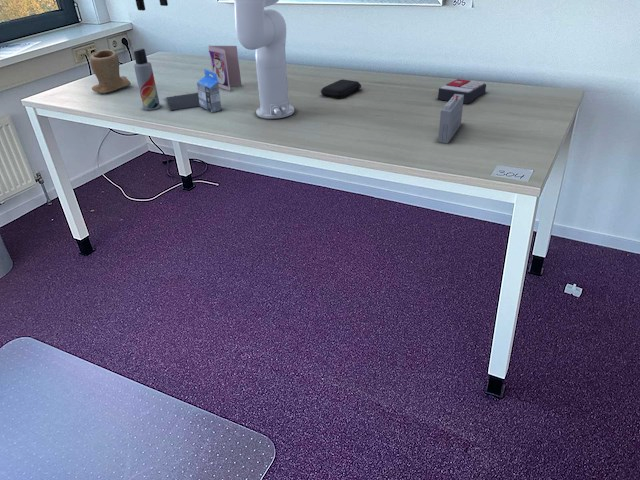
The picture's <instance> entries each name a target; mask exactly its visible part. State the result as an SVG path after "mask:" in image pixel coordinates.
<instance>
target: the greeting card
mask: <svg viewBox="0 0 640 480" xmlns="http://www.w3.org/2000/svg"><path fill="white" fill-rule="evenodd" d="M207 48H208V54H209V60H210V67H211V72H213V73H215V74H216V75H217V79H218V85H219V89H222V90H223V89H224V90H226V91H229V92H231V87H242V86H243V85H242V78H241V69H240V62H239V61H240V60H239V55H238V53H239V52H238V46H237V45H207Z"/></svg>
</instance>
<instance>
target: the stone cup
mask: <svg viewBox="0 0 640 480" xmlns="http://www.w3.org/2000/svg"><path fill="white" fill-rule="evenodd" d="M89 63H90V67H91V70H92V73H93V74H94V75H95V77H96V79H97V81H98V83H97V84H95V85H93V86H92V87H91V90H92V91H93V92H95V93H99V94H106V93H110V92H114V91H117V90H120V89H123V88H125V87H128V86H131V81H130V80H129V79H128V77H127V76H126V75H122V76H120V59H119V57H118V54H117V52H116V51H115V50H112V49H100V50H97V51H95V52H94V53H92V54H91V55H90V56H89Z"/></svg>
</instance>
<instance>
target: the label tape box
mask: <svg viewBox="0 0 640 480" xmlns="http://www.w3.org/2000/svg"><path fill="white" fill-rule="evenodd" d="M203 70H204V76H203V77H202V78H200V79H199V80H197V82H196V89H197V93H198V96H199V104H200V106H201V107H200V108H203V109H205V110H207V111H208V112H211V113H215V112H216V113H217V112H219V111H222V105H221V104H222V103H221V95H220V87H219V85H218V79H217V75H216V74H215V73H213V72H212V70H209V69H206V68H203Z"/></svg>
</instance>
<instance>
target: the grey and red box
mask: <svg viewBox="0 0 640 480" xmlns="http://www.w3.org/2000/svg"><path fill="white" fill-rule="evenodd" d="M486 89H487V83H485V82H483V81H476V80H470V79H461V78H457V79H454V80H452V81H450V82H448V83H446V84H445V85H443V86H440V87H439V88H438V94H437V100H441V101H446V102H448V101H449V100H450V99H451V98H452V97H453V95H454V94H461V95H464V99H463V104H465V105H466V104H467V105H469V104H471V103H472V102H473V101H474V100H475V99H476V98H478V97H480V96H482V95H483V94H486Z"/></svg>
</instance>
